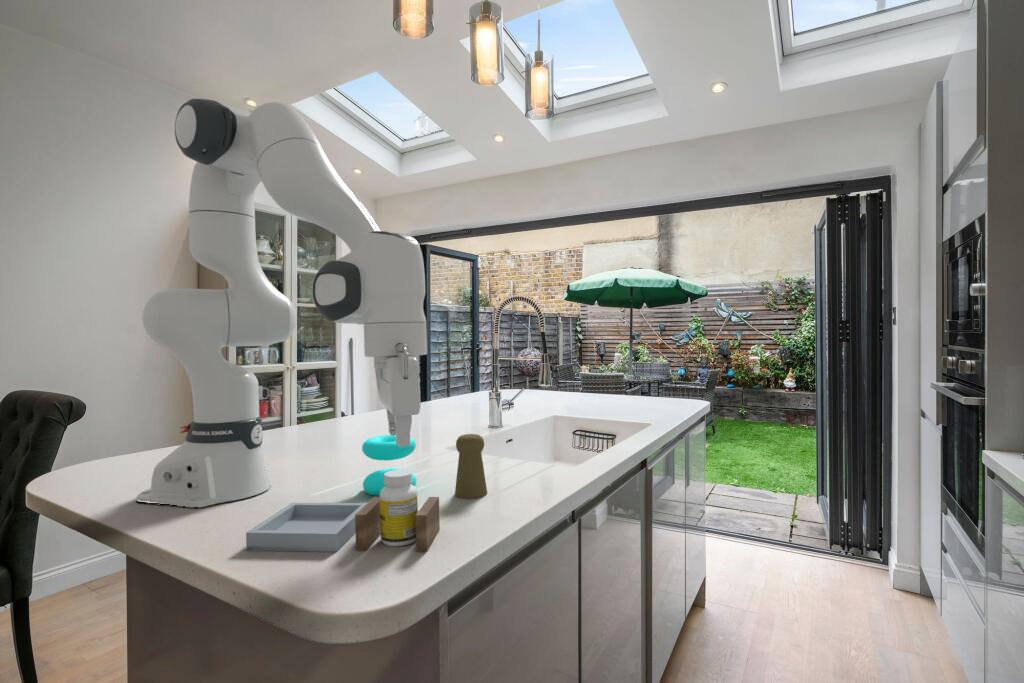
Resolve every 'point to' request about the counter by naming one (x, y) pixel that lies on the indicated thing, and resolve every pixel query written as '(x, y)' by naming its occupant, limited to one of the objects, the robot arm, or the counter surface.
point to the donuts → (384, 450)
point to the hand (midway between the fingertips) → (398, 439)
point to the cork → (470, 467)
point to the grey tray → (305, 528)
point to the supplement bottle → (398, 508)
